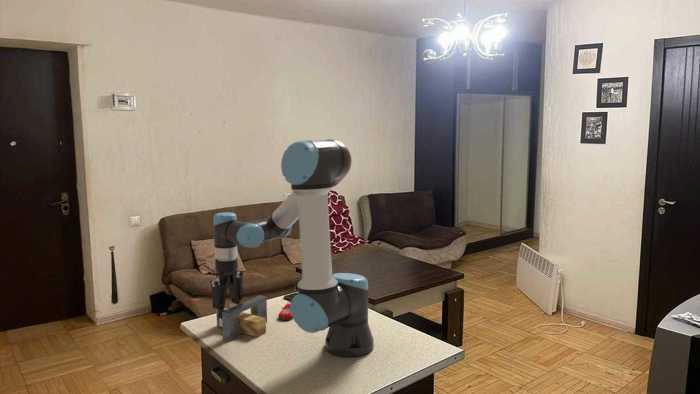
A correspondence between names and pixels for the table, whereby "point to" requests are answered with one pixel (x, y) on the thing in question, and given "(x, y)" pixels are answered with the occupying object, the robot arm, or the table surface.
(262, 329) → the tan long block
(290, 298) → the phone
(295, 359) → the table surface
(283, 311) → the race car
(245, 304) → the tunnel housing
